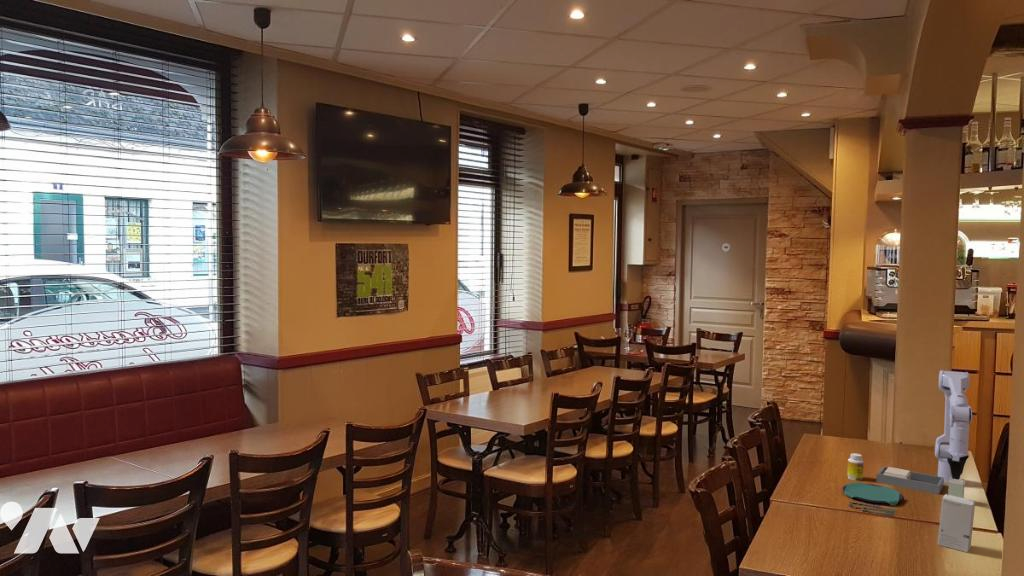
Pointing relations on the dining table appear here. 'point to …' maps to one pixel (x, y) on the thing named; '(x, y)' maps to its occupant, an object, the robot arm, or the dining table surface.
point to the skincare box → (956, 523)
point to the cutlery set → (873, 496)
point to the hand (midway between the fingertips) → (957, 476)
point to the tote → (913, 481)
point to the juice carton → (956, 487)
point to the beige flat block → (898, 473)
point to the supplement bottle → (855, 467)
